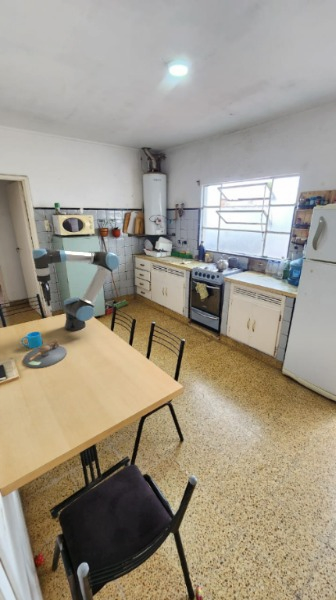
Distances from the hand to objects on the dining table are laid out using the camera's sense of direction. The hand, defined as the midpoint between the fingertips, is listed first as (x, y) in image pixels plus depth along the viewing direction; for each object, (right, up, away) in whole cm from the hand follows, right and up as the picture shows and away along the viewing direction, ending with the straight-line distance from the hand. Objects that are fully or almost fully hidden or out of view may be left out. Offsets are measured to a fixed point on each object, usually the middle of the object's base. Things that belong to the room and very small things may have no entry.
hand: (49, 309), depth 163 cm
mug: (-13, -25, +5) cm, 28 cm away
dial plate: (+2, -29, -8) cm, 30 cm away
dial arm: (+2, -27, -9) cm, 28 cm away
